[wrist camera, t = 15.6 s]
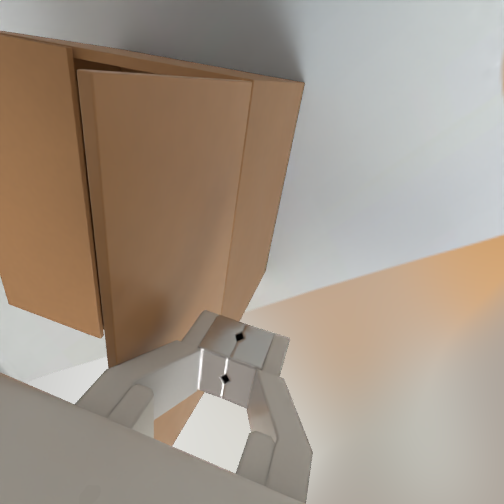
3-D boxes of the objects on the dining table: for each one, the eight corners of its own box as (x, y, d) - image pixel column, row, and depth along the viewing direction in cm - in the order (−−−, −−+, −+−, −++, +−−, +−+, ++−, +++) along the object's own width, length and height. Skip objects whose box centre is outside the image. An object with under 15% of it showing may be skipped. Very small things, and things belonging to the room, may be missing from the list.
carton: (118, 48, 23) (-78, 18, 13) (304, 82, 20) (247, 79, 10) (127, 230, 30) (7, 304, 20) (265, 272, 28) (208, 380, 18)
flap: (74, 68, 5) (92, 72, 5) (243, 80, 10) (252, 82, 10) (123, 512, 12) (129, 516, 12) (207, 377, 18) (211, 380, 18)
